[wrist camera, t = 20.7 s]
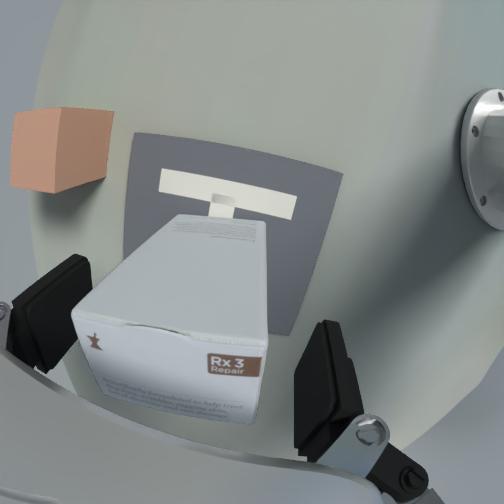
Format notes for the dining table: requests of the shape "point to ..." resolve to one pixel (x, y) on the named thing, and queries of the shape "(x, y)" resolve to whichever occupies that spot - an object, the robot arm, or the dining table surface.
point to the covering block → (59, 148)
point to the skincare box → (183, 320)
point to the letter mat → (235, 205)
